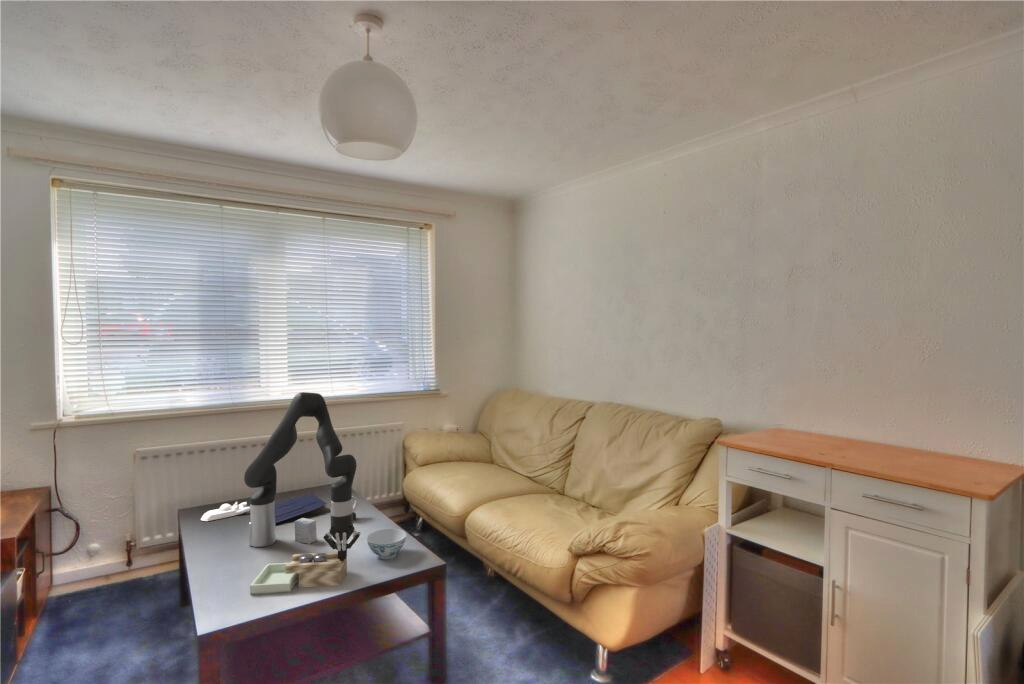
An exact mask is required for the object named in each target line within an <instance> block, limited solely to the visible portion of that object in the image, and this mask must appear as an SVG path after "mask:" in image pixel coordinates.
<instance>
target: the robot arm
mask: <svg viewBox="0 0 1024 684" xmlns="http://www.w3.org/2000/svg"><path fill="white" fill-rule="evenodd" d="M302 417H306V418H307V417H309V418H315V419H316V420H317V423H318V427H317V430H316V434H315V435H316V442H317V444H318V446H319V449H320V451H321V453H322V455H323V461H324V462H323V463H324V470H325V473H326V475H327V476H328V477H330V478H332V479H334V478H335V479H336V478H339V477H341V478H340V479H339V480H337V481H336V482H334V483H332V484H331V486H330V507H329V508H330V509H329V510H330V529H329V531H328V532H326V533H324V536H323V537H322V538H323V540H324V541H325V542H326V543H327V544H328V546H329V547H330V548H331V549H332V550H336V551H337V552H338V559H340V561H344V560H345V559H346V557H347V558H348V550H350V549H351V548H352V547H353V546H354V544H355V543H356V542H357V540H358V539H359V537H360V536H361V532H360V531H357V530H355V526H354V521H353V505H354V502H353V497H352V496H353V494H352V493H353V492H352V491H353V489H352V487H353V483H354V478H355V475H356V471H357V459H356V458H355V456H353V454H344V455H343V454H342V451H343V445H342V443H341V441H340V439H339V437H338V435H337V433H336V431H335V429H334V427H333V424H332V421H331V417H330V412H329V410H328V407H327V404H326V400H325V398H324V396H323V395H322V394H320V393H317V392H306V391H305V392H303V391H302V392H298V393H296V394H295V395H294V396H293V398H292V400H291V401H290V404H289V406H288V407H287V410H286V412H285V413H284V415H283V417H282V419H280V422H279V424H278V425H277V427H276V428H275V430H274V431H273V432H272V434H271V435H270V437H269V439H268V440H267V442H266V444H265V445H264V447H263V448H262V449H261V451H260V452H259V453H258V455H257V456H256V458H254V460H252V462H251V463H250V464H249V465H248V466H247V468H246V470H245V471H244V475H243V477H244V479H243V480H244V484H245V486H247V487H248V488H251V489H257V488H258V489H257V490H256V491H255V492H254V493H253V494H251V496H250V498H249V503H250V505H249V507H250V510H249V512H250V514H249V516H250V521H249V523H248V541H249V543H248V544H249V545H248V546H249V547H254V548H263V547H264V548H265V547H269V546H271V545H273V544H275V542H276V541H277V540H276V539H277V538H276V537H277V535H276V523H275V504H276V500H275V499H276V498H275V497H276V495H277V494H276V493H277V481H278V480H277V479H278V477H277V473H278V472H277V468H276V466H275V464H276V463H278V462H279V461H280V460H281V459H283V458H284V457H285V456H286V455H288V453H289V452H290V451H291V450H292V448H293V447H294V445H295V444H296V443H297V440H298V431H297V427H296V424H297V422H298V421H299V419H300V418H302ZM340 454H342V455H340ZM351 536H352V539H351V541H350V542H349V539H350V538H351ZM348 542H349V543H348Z"/></svg>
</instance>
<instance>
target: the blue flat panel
mask: <svg viewBox="0 0 1024 684" xmlns="http://www.w3.org/2000/svg"><path fill="white" fill-rule="evenodd" d="M327 504H328V503H327V502H326V501H324V500H323V499H320V498H319V497H318V496H317V495H315V494H314V493H311V494H307V495H306V494H304V495H300V496H297V497H294V498H289V499H287V500H284V501H281V502H278V503H275V524H278V523H280V522H283V521H286V520H289V519H291V518H295V517H297V516H300V515H304V514H305V513H309V512H312V511H315V510H317V509H319V508H322V507H323V506H326V505H327ZM248 515H250V513H249V514H248Z"/></svg>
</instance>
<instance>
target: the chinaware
mask: <svg viewBox="0 0 1024 684" xmlns="http://www.w3.org/2000/svg"><path fill="white" fill-rule="evenodd" d="M406 538H407V533H406V531H405V530H403V529H399V528H383V529H378V530H375V531H373V532H371V533H370V534H368V535H367V536H366V542H367V545H368V547H369V549H370V550H371V552H372V553H374V554H375V555H376V556H377V557H378V558H379V559H381V560H390V559H393V558H394V557H396V556H397V553H399V552H400V551H401V550H402V548H403V546H404V545H405V542H406Z"/></svg>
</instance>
